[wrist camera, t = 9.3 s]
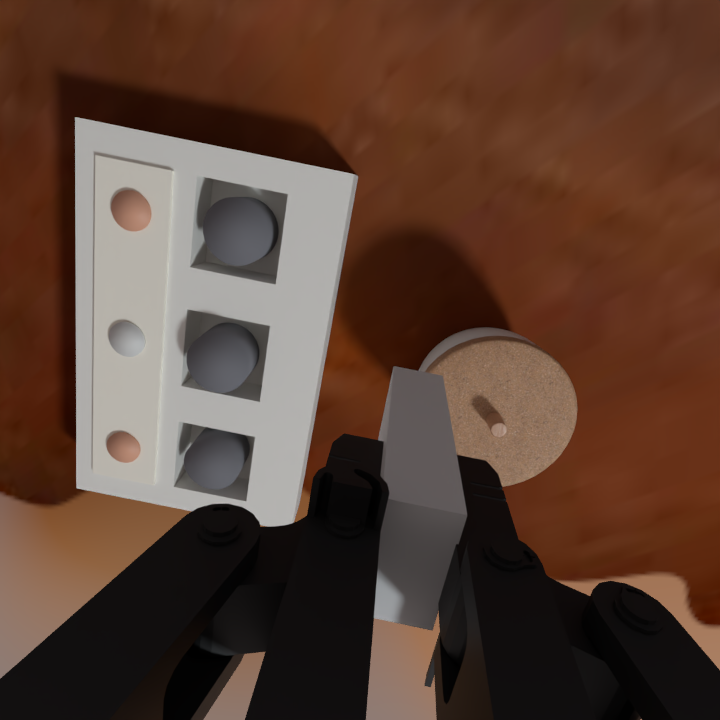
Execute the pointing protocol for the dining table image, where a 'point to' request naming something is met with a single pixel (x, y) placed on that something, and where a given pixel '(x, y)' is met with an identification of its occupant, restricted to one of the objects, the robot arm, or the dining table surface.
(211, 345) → the button
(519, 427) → the lidded jar
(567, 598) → the robot arm
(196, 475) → the button
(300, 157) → the dining table surface
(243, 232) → the button
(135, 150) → the button board
